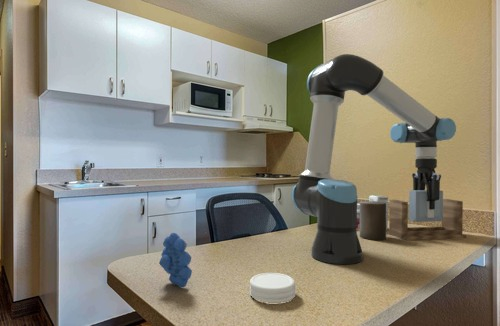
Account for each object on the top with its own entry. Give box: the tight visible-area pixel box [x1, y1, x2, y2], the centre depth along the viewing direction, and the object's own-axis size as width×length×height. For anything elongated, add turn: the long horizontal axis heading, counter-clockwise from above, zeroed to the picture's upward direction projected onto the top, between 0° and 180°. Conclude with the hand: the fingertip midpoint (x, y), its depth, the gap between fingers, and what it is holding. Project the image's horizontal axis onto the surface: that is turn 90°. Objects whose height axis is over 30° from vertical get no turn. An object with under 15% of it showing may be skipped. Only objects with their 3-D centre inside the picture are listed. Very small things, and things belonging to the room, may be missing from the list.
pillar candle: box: [359, 200, 387, 241], centre depth 123 cm, size 10×10×15 cm
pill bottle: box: [357, 203, 360, 232], centre depth 137 cm, size 6×6×11 cm
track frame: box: [386, 198, 467, 241], centre depth 127 cm, size 26×12×14 cm, turn 99°
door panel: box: [408, 189, 444, 223], centre depth 127 cm, size 12×4×12 cm, turn 99°
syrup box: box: [368, 194, 389, 231], centre depth 138 cm, size 6×6×14 cm
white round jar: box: [249, 272, 296, 303], centre depth 69 cm, size 10×10×4 cm
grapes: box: [158, 232, 193, 288], centre depth 74 cm, size 12×7×12 cm, turn 41°
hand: (425, 216), depth 127 cm, fingers closed on door panel, 4 cm apart
